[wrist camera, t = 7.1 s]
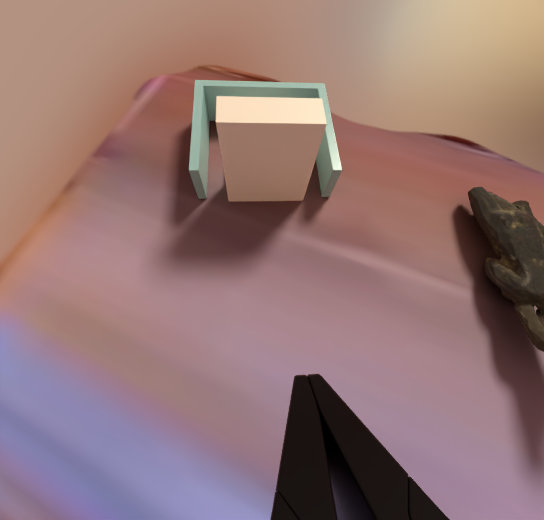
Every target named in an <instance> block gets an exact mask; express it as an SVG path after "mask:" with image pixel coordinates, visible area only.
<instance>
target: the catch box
mask: <svg viewBox="0 0 544 520" xmlns="http://www.w3.org/2000/svg"><path fill="white" fill-rule="evenodd" d="M217 96H236V97H279V98H322V101H323V106H324V112H325V117H326V122H327V125H326V128H325V131H324V135H323V138H322V141H321V144H320V148H319V151H318V154H317V157H316V164H317V170H318V177H319V183H320V189H321V196H322V197H330V195H331V193H332V190H333V188H334V186H335V184H336V182H337V180H338V177H339V175H340V173H341V171H342V168H341V163H340V158H339V153H338V148H337V143H336V138H335V133H334V128H333V123H332V118H331V113H330V109H329V103H328V99H327V94H326V89H325V84H324V83H287V82H251V81H214V80H195V92H194V106H193V119H192V133H191V146H190V160H189V173H190V176H191V178H192V181H193V184H194V187H195V190H196V193H197V196H198V199H207V179H208V154H209V128H210V121H216V99H217Z"/></svg>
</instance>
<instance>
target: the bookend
mask: <svg viewBox="0 0 544 520" xmlns="http://www.w3.org/2000/svg"><path fill="white" fill-rule="evenodd" d="M326 125H327V122H326V117H325V112H324V106H323V101H322V98H279V97H236V96H217V99H216V127H217V133H218V139H219V145H220V152H221V158H222V164H223V170H224V176H225V183H226V189H227V195H228V201H303V199H304V196H305V193H306V190H307V186H308V183H309V180H310V177H311V173H312V170H313V167H314V164H315V161H316V157H317V154H318V151H319V148H320V144H321V141H322V138H323V135H324V131H325V128H326Z"/></svg>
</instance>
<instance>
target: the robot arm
mask: <svg viewBox="0 0 544 520" xmlns="http://www.w3.org/2000/svg"><path fill="white" fill-rule="evenodd" d="M271 520H449V519H448V518H447V517H446V516H445V514H444V513H443V512H442V511H441V510H440V509H439V508H438V507H437V506H436V505H435V504H434V502H433V501H432V500H431V499H430V498H429V497H428V496H427V495H426V494H425V493H424V492H423V490H422V489H421V488H420V487H419V486H418V485H417V484H416V482H415V481H414V480H413V479H412V478H411V477H408V474H407V472H406V471H405V470H404V469H403V468H402V467H401V466H400V464H399V463H398V462H397V461H396V460H395V459H394V458H393V457H392V455H391V454H390V453H389V452H388V451H387V450H386V449H385V447H384V446H383V445H382V444H381V443H380V442H379V441H378V440H377V438H376V437H375V436H374V435H373V434H372V433H371V432H370V431H369V429H368V428H367V427H366V426H365V425H364V424H363V423H362V421H361V420H360V419H359V418H358V417H357V416H356V415H355V414H354V412H353V411H352V410H351V409H350V408H349V407H348V406H347V404H346V403H345V402H344V401H343V400H342V399H341V398H340V397H339V395H338V394H337V393H336V392H335V391H334V390H333V389H332V387H331V386H330V385H329V384H328V383H327V382H326V381H325V380H324V378H323V377H322V376H321V375H320V374H309V375H307V376H306V375H296V376H295V377H294V381H293V388H292V394H291V400H290V406H289V412H288V418H287V424H286V430H285V437H284V443H283V449H282V455H281V461H280V467H279V473H278V479H277V486H276V492H275V497H274V503H273V509H272V515H271Z"/></svg>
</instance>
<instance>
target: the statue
mask: <svg viewBox="0 0 544 520" xmlns="http://www.w3.org/2000/svg"><path fill="white" fill-rule="evenodd" d="M468 196H469V200H470V204H471V208H472V211H473V213H474V215H475V218H476V220H477V222H478V224H479V225H480V227H481V228H482V230H483V232H484V233H485V235H486V236H487V238H488V239H489V241H490V242H491V244H492V247H493V250H494V252H495V253H496V255H497V256H498V257H499V258H500V259H501V260H496V259H494V258H492V257H488V258H486V262H485V266H484V268H485V272H486V274H487V276H488V277H489V279H490V280H491V281H492V282H493V283H494V284H496V285H497V286H498V287H499V288H500V289H501V290H502V295H504V297H506V298H507V299H509V300H512V301H513V302H514V303H515V307H514V308H515V309H516V311H517V313H518V315H519V317H520V319H521V322H522V325H523V328H524V330H525V332H526V333H527V335H528V337H529V338H530V340H531V342H532V343H533V344H534V345H535V346H536V347H537V348H538V349H539V350H541V351H543V352H544V226H543V225H542V224H541V223H539V222H538V221H537V219H536V218H535V217H534V216H533V214H532V211H531V208H530V207H529V203H528V202H527V201H516V202H514V203H509V202H508V201H506V200H505V199H503V198H501V197H498V196H497V195H495V194H492V193H490V192H487V191H486V190H485V189H484V188H483V187H476V188H473V189H471V190H470V191H469V192H468ZM534 306H536V307H537V308H538V309H537V310H536V313H535V310H534Z"/></svg>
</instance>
